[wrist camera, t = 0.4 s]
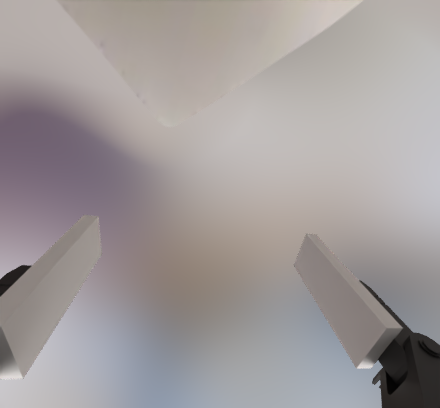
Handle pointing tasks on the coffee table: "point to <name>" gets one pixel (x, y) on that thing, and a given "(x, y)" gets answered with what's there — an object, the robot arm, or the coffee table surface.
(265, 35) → the coffee table surface
